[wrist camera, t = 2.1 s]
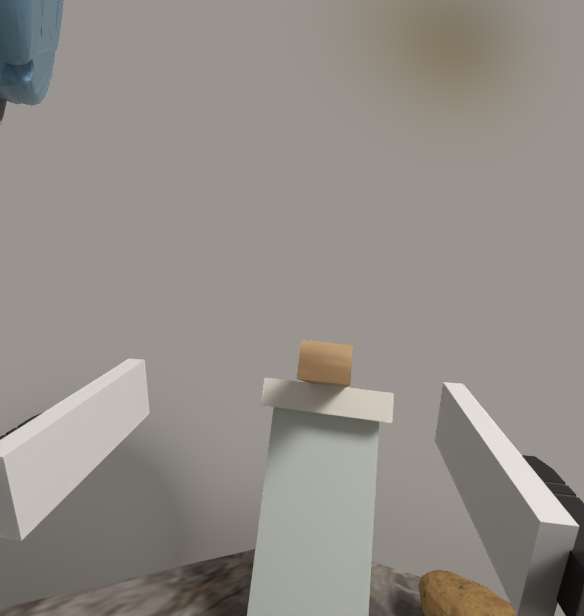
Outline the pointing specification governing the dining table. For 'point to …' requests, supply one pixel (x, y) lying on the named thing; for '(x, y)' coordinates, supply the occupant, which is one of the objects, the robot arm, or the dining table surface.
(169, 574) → the dining table surface
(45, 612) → the dining table surface
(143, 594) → the dining table surface
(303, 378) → the oak slat
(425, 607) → the potato
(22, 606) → the dining table surface
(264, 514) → the box
